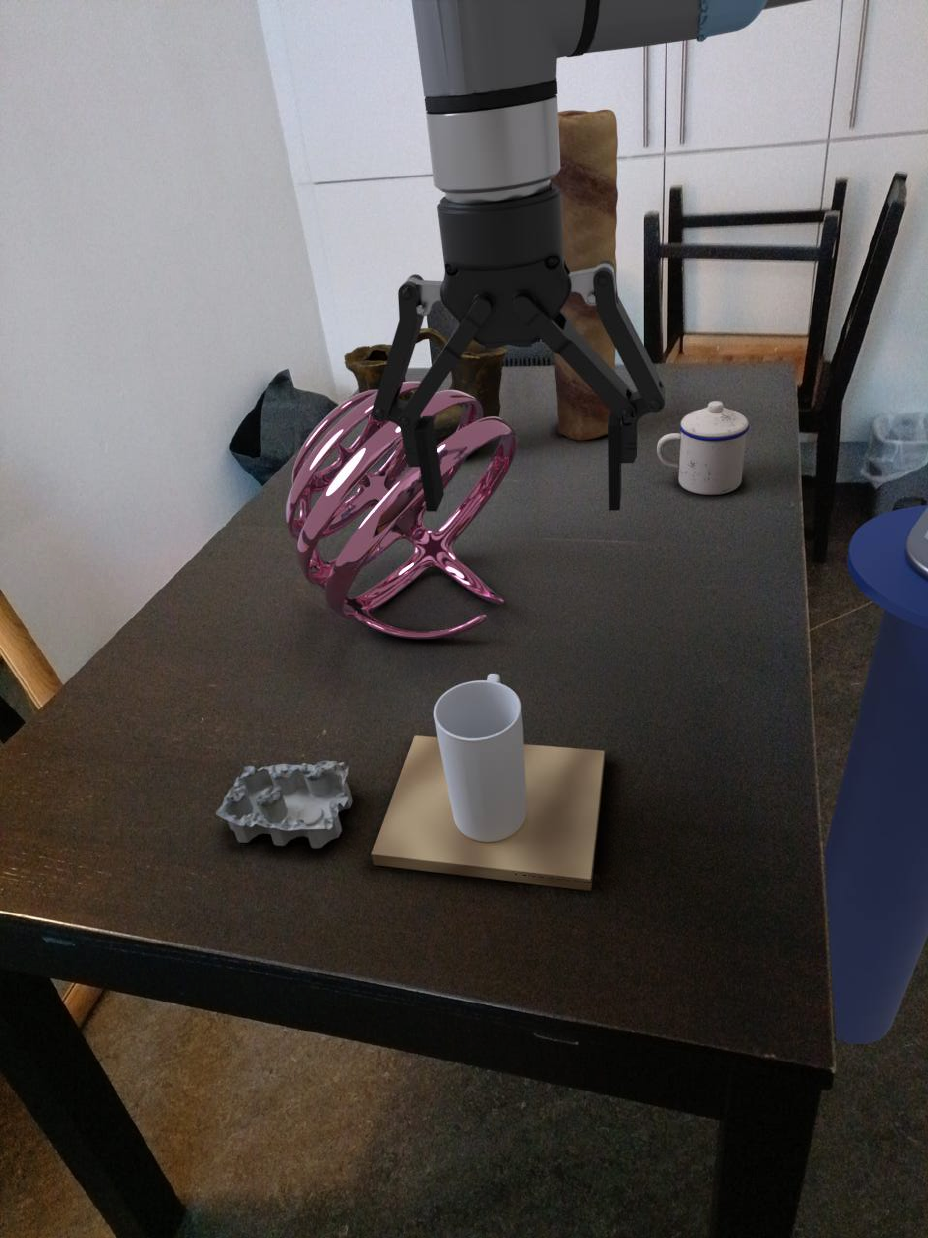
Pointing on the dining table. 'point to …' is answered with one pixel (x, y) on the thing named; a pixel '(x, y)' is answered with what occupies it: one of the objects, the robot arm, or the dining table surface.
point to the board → (541, 847)
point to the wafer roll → (586, 254)
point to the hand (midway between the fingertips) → (523, 502)
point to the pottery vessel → (469, 375)
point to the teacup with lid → (709, 450)
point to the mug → (483, 757)
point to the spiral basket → (389, 504)
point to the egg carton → (288, 802)
